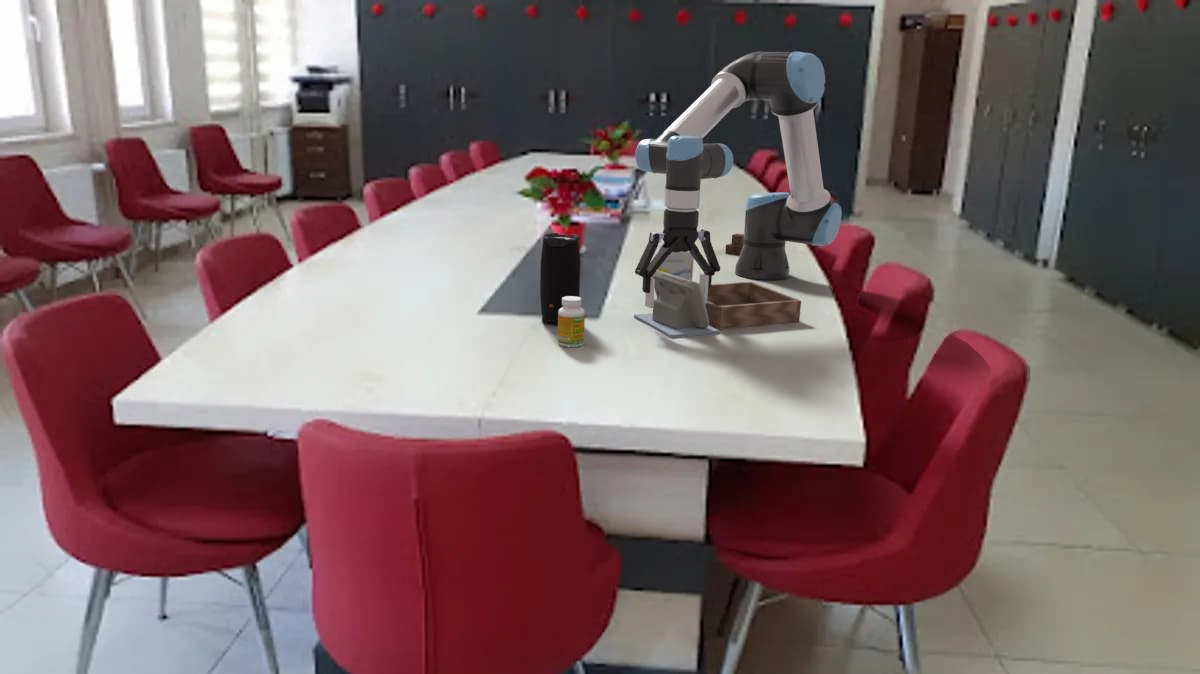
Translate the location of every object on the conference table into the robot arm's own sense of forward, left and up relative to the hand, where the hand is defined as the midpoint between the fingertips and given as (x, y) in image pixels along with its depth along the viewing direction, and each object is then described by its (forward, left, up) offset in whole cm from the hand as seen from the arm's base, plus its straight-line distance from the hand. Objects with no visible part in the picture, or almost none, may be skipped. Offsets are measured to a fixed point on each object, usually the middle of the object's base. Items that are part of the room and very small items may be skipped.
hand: (676, 305), depth 207 cm
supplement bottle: (+28, +7, -5) cm, 29 cm away
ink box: (-15, -29, -5) cm, 33 cm away
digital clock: (-1, 0, -4) cm, 4 cm away
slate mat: (0, 0, -5) cm, 5 cm away
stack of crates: (-61, -72, -6) cm, 95 cm away
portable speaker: (+24, -10, -5) cm, 26 cm away
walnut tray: (-18, -4, -5) cm, 19 cm away
